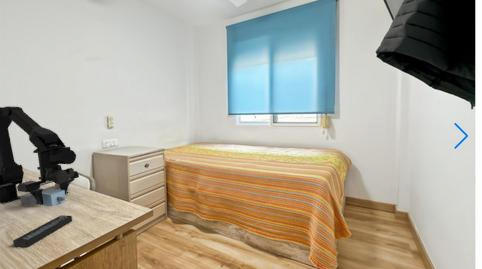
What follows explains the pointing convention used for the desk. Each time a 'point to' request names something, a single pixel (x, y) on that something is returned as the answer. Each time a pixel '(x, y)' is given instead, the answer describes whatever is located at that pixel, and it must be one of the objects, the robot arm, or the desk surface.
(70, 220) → the multiport hub
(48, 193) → the slate plug
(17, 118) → the robot arm
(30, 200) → the power strip
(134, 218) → the desk surface
